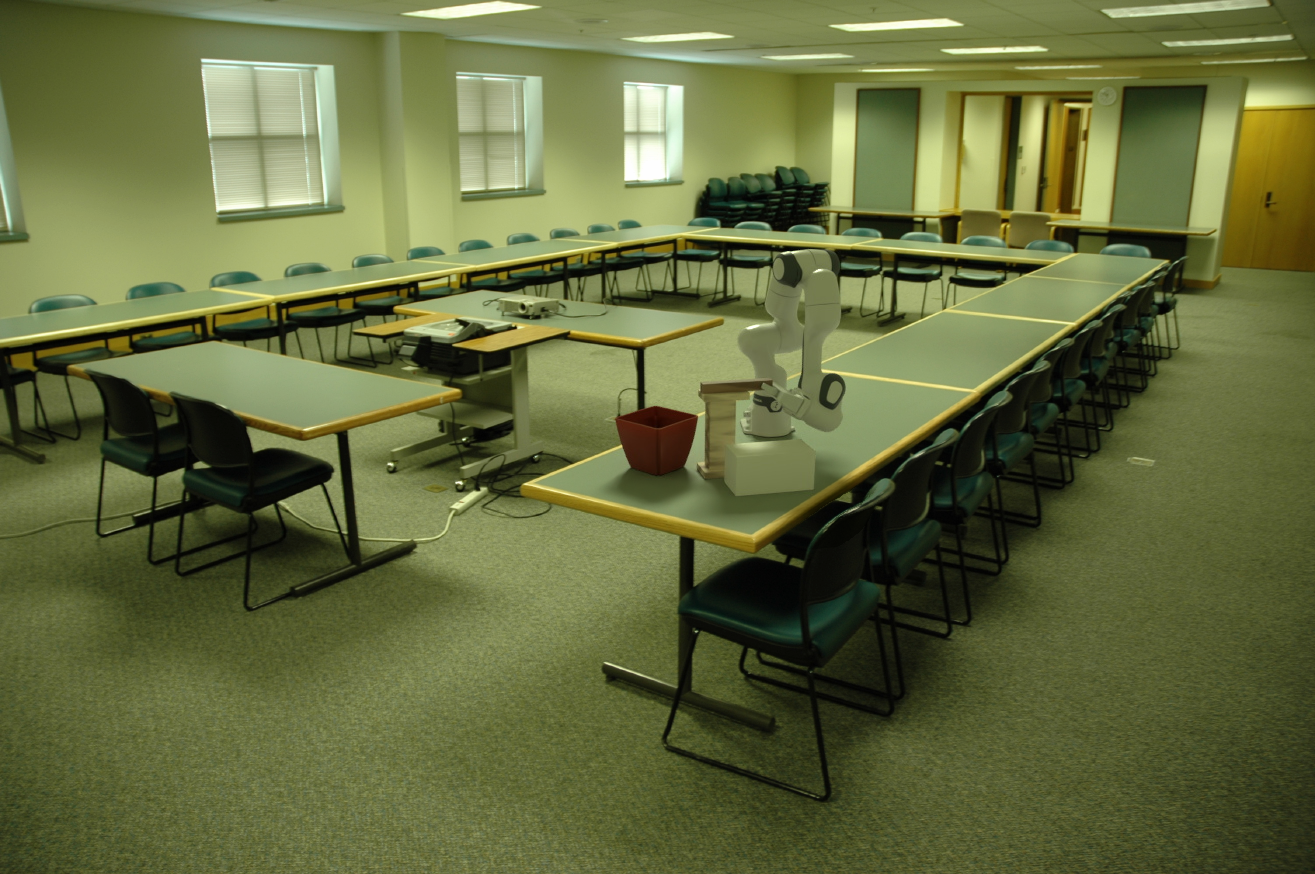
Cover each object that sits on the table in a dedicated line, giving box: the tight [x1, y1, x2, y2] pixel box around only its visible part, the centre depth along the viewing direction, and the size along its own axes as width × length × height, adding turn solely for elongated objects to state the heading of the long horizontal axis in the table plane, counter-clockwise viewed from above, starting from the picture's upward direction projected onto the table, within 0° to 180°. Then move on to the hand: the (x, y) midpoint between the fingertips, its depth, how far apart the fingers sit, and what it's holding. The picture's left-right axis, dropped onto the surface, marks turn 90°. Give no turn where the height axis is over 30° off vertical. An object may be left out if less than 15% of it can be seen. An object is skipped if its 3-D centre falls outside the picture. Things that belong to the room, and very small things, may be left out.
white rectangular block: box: [723, 438, 817, 497], centre depth 273 cm, size 12×24×12 cm, turn 102°
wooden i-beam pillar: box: [696, 388, 751, 480], centre depth 283 cm, size 10×14×26 cm
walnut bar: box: [699, 378, 773, 394], centre depth 280 cm, size 3×22×3 cm, turn 102°
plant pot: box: [614, 405, 699, 477], centre depth 289 cm, size 19×19×17 cm
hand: (759, 382), depth 281 cm, fingers open, 3 cm apart
